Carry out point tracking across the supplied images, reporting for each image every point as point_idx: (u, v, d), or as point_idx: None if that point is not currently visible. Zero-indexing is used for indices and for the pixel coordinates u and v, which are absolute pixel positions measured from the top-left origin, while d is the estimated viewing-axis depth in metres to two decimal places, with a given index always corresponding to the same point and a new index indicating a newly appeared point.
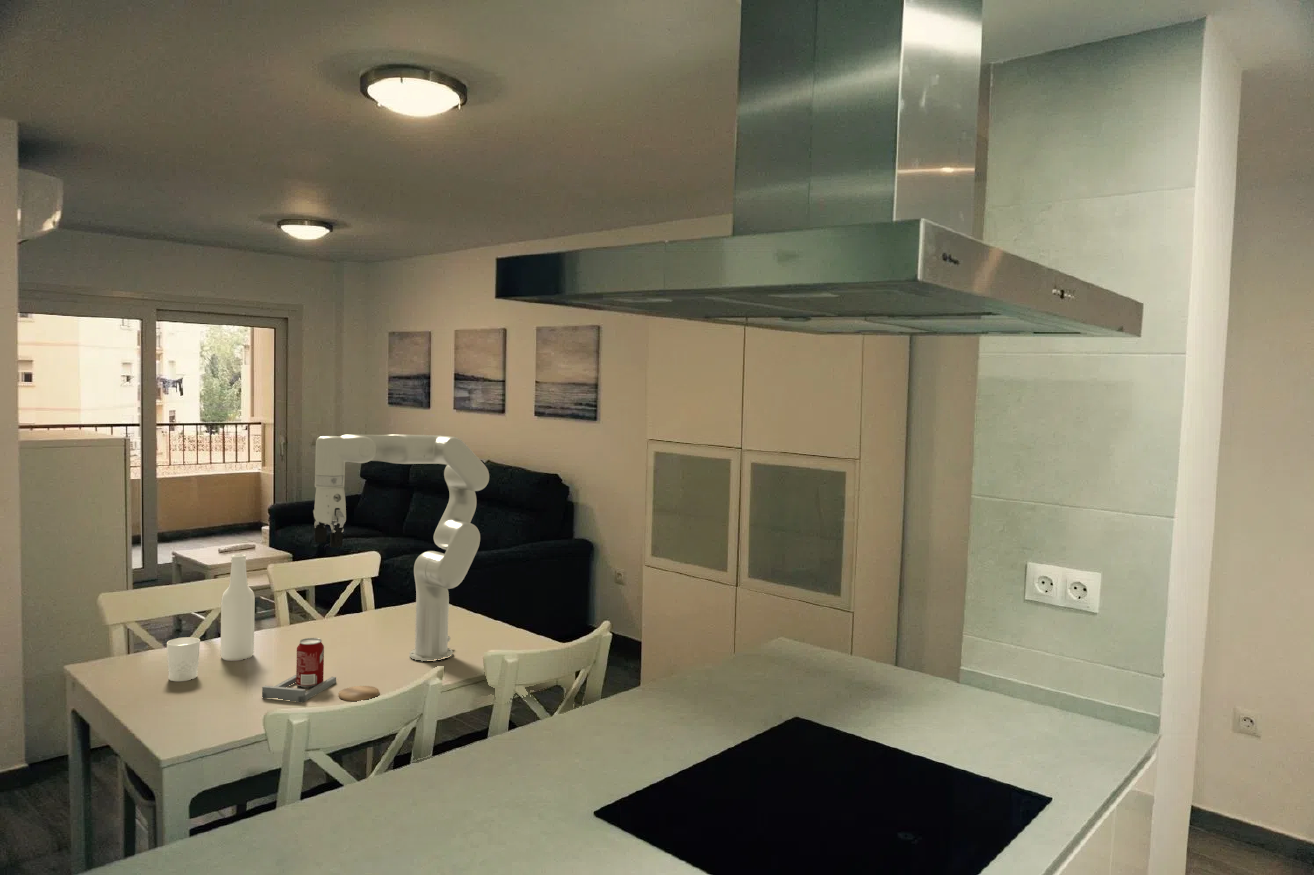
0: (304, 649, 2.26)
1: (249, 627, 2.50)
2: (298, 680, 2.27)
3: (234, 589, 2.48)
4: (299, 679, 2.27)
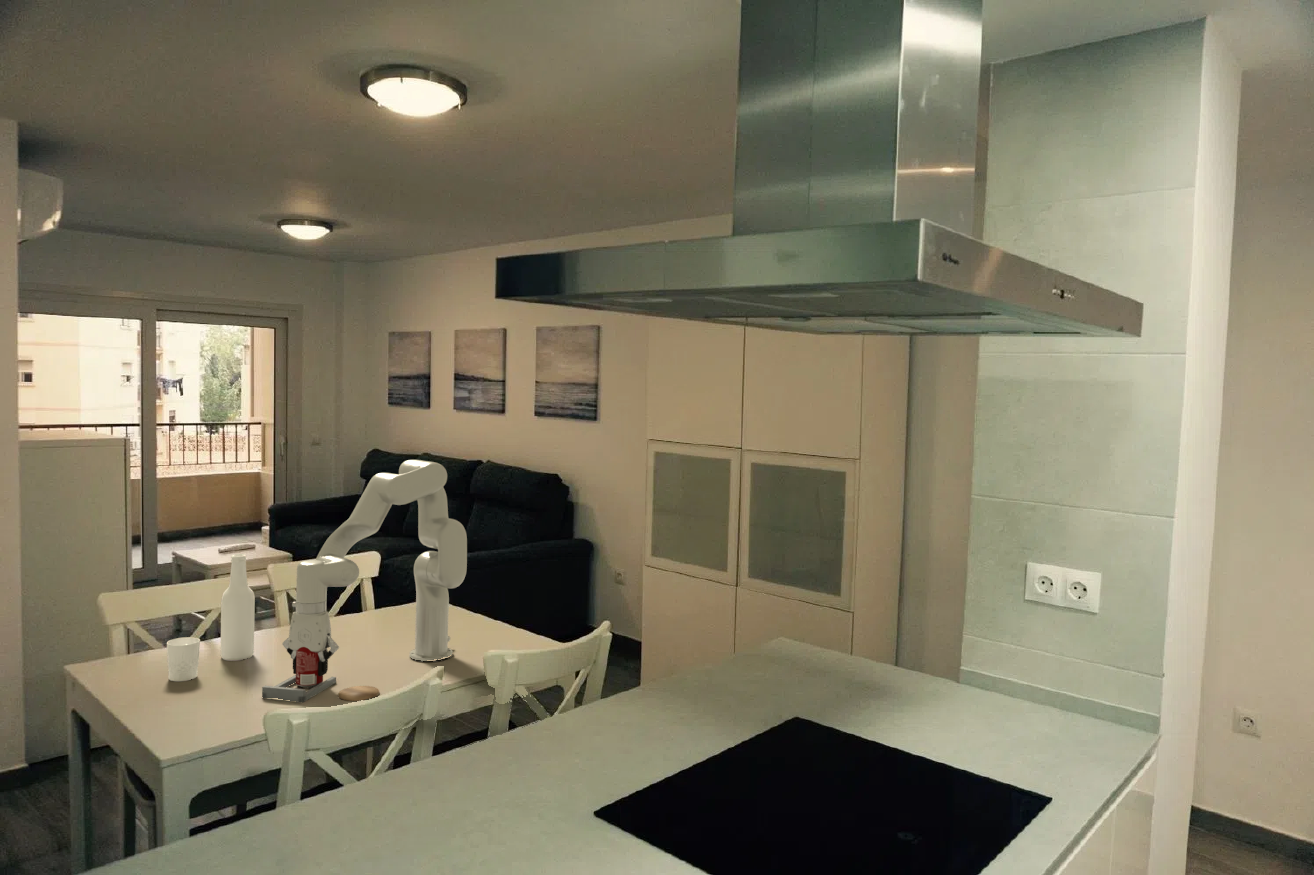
0: (303, 649, 2.26)
1: (249, 627, 2.50)
2: (297, 680, 2.27)
3: (234, 589, 2.48)
4: (298, 679, 2.27)
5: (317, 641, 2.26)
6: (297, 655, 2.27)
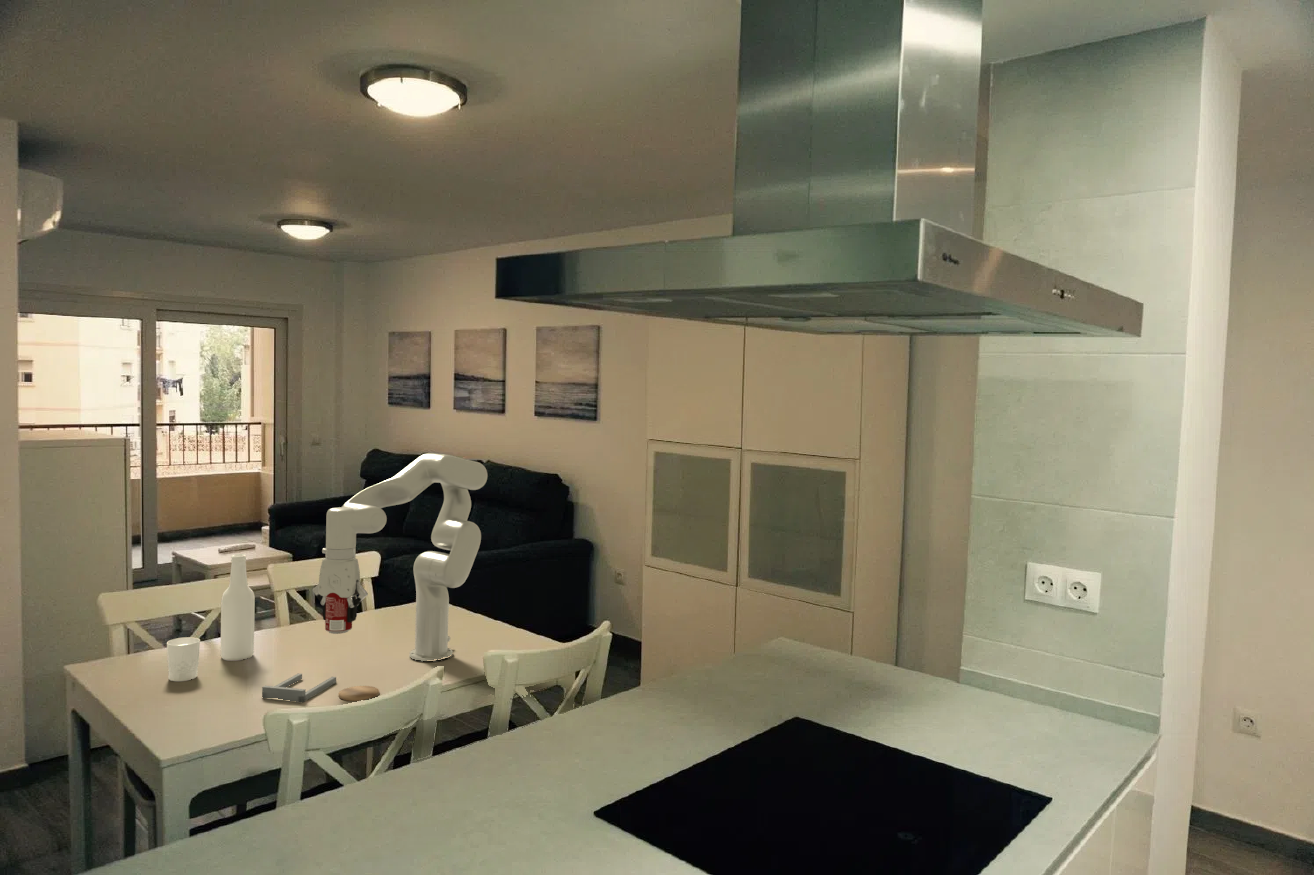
0: (332, 595, 2.27)
1: (249, 627, 2.50)
2: (327, 626, 2.28)
3: (234, 589, 2.48)
4: (327, 625, 2.28)
5: (346, 587, 2.27)
6: (326, 601, 2.28)
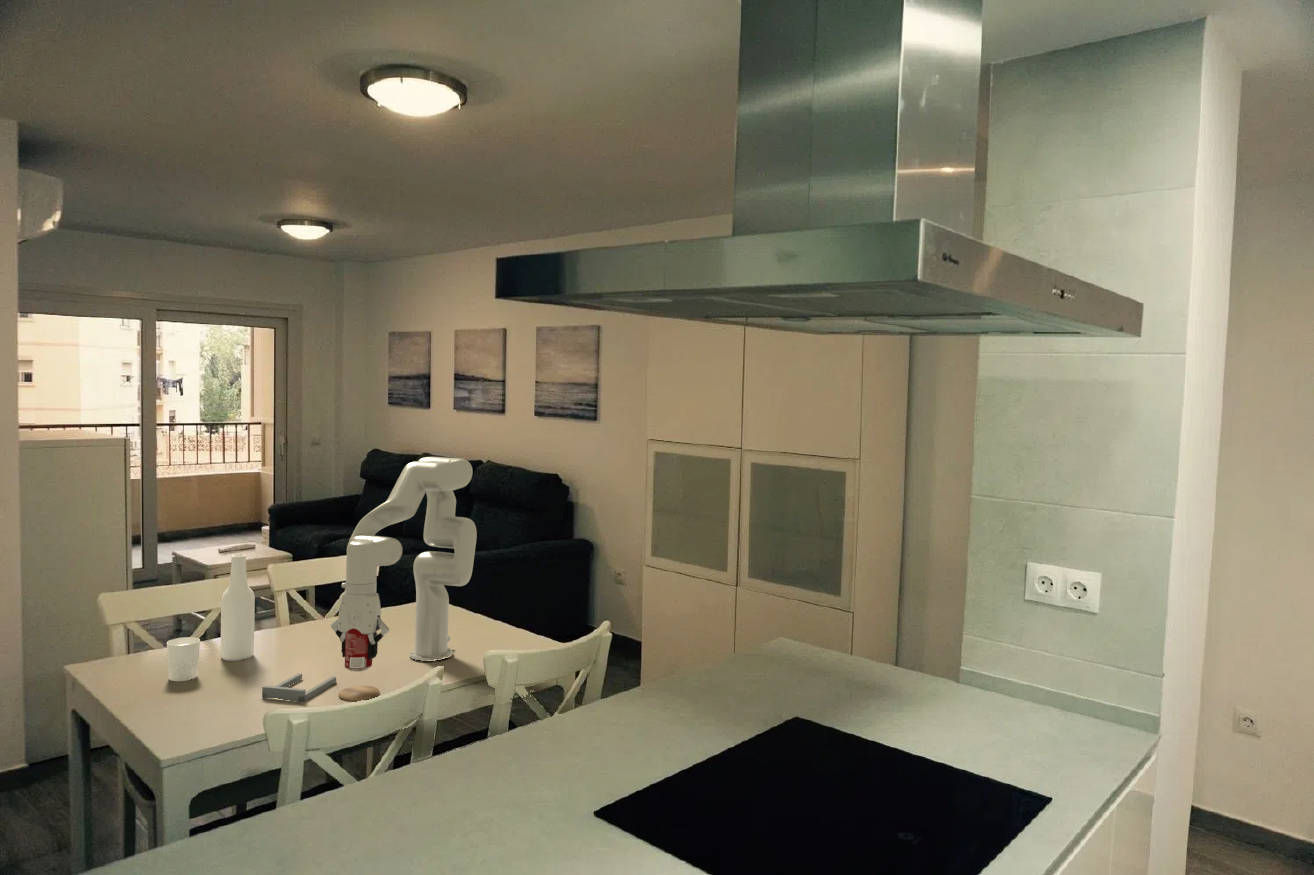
0: (353, 632, 2.20)
1: (249, 627, 2.50)
2: (347, 663, 2.21)
3: (234, 589, 2.48)
4: (348, 662, 2.21)
5: (367, 623, 2.20)
6: (346, 637, 2.21)
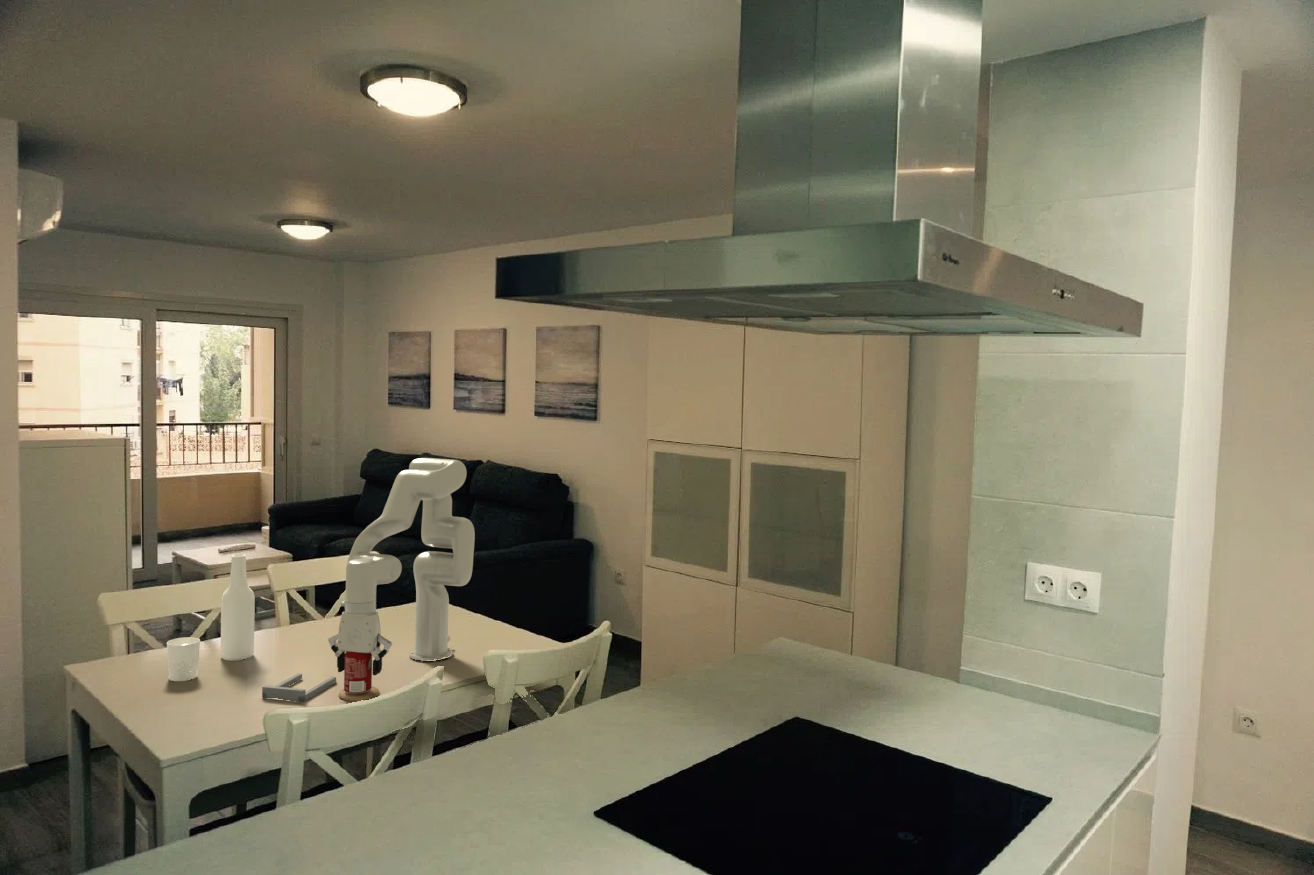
0: (352, 656, 2.21)
1: (249, 627, 2.50)
2: (346, 687, 2.21)
3: (234, 589, 2.48)
4: (347, 686, 2.21)
5: (367, 642, 2.20)
6: (346, 662, 2.21)
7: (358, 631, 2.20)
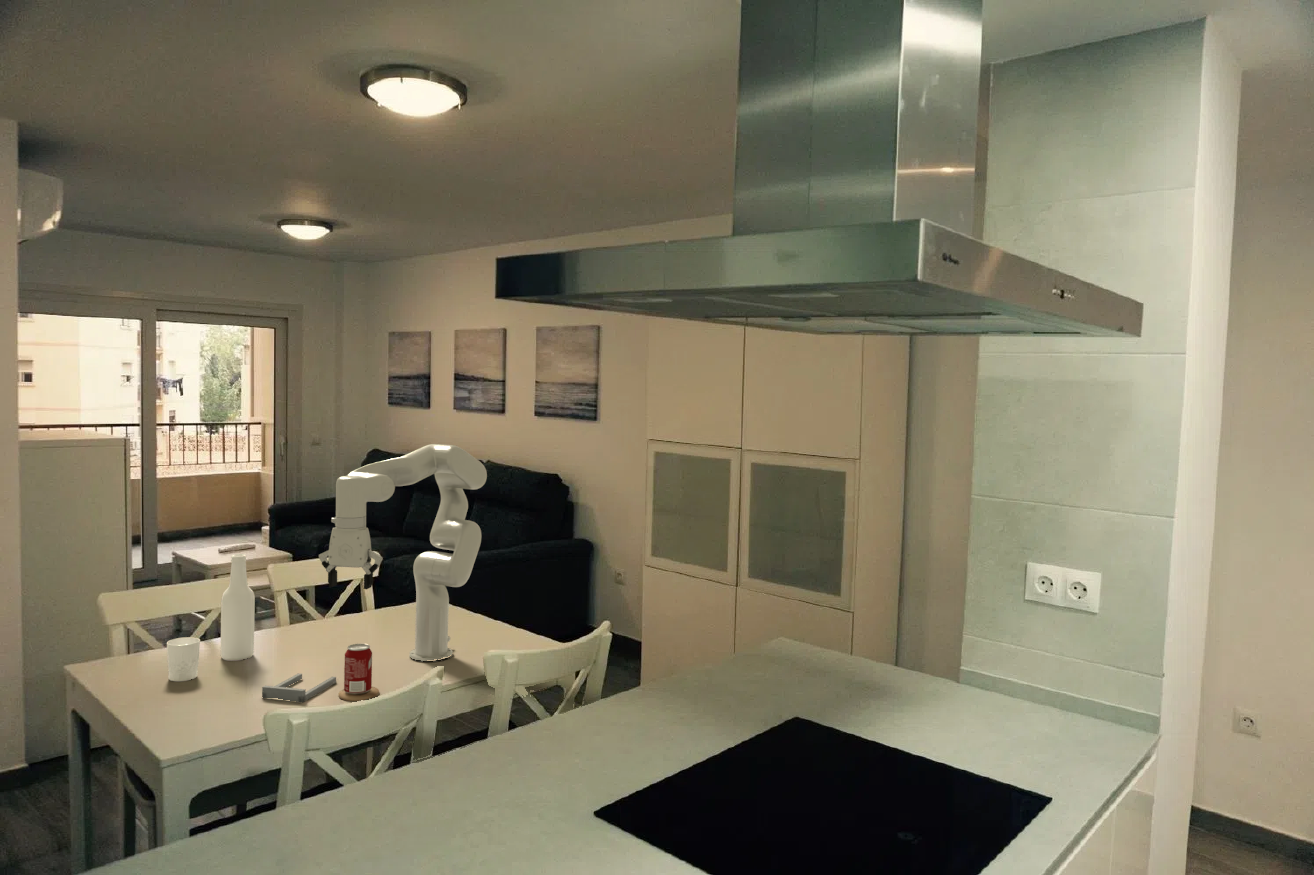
0: (352, 656, 2.21)
1: (249, 627, 2.50)
2: (346, 687, 2.21)
3: (234, 589, 2.48)
4: (347, 686, 2.21)
5: (358, 556, 2.24)
6: (346, 662, 2.21)
7: (349, 546, 2.24)
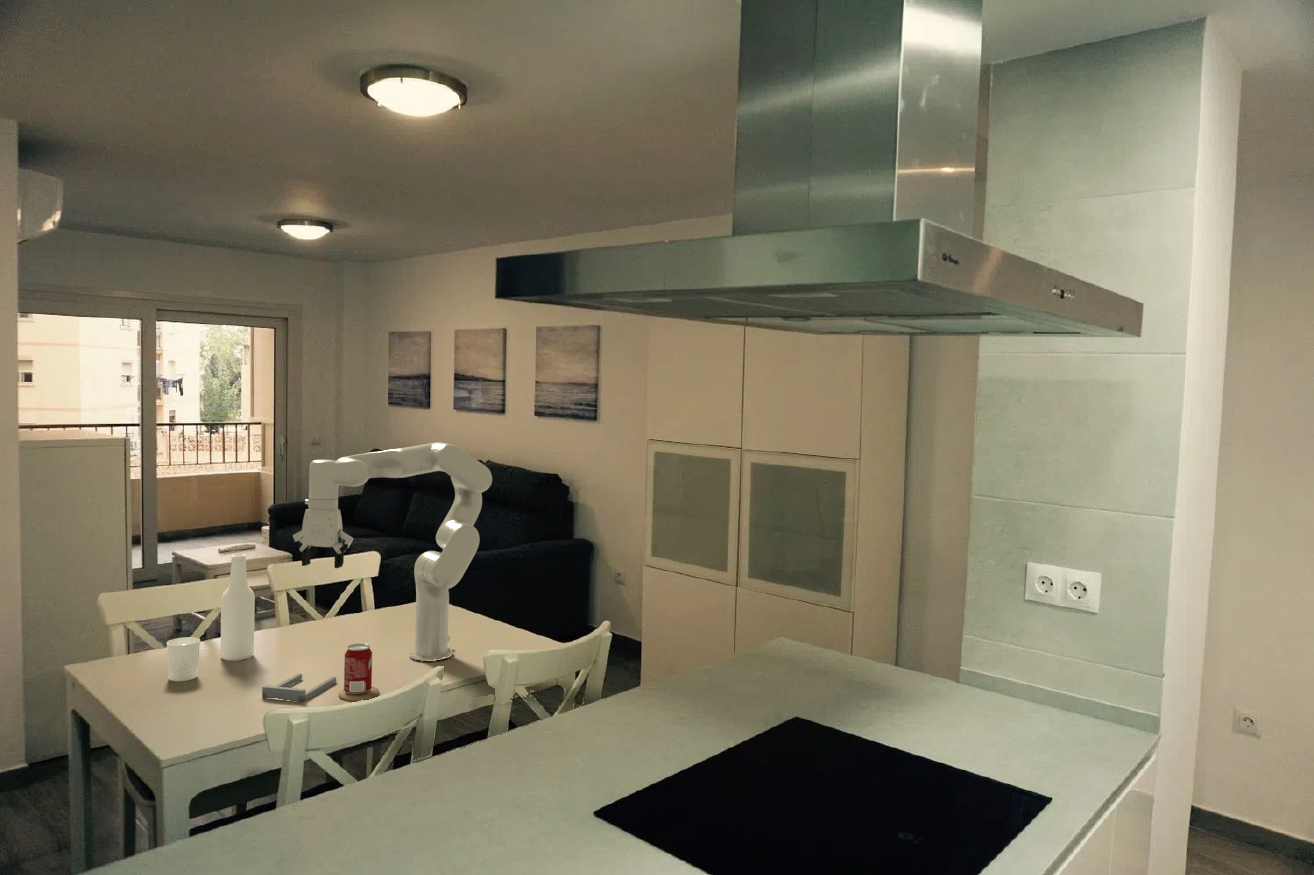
0: (352, 656, 2.21)
1: (249, 627, 2.50)
2: (346, 687, 2.21)
3: (234, 589, 2.48)
4: (347, 686, 2.21)
5: (329, 536, 2.34)
6: (346, 662, 2.21)
7: (320, 526, 2.34)
